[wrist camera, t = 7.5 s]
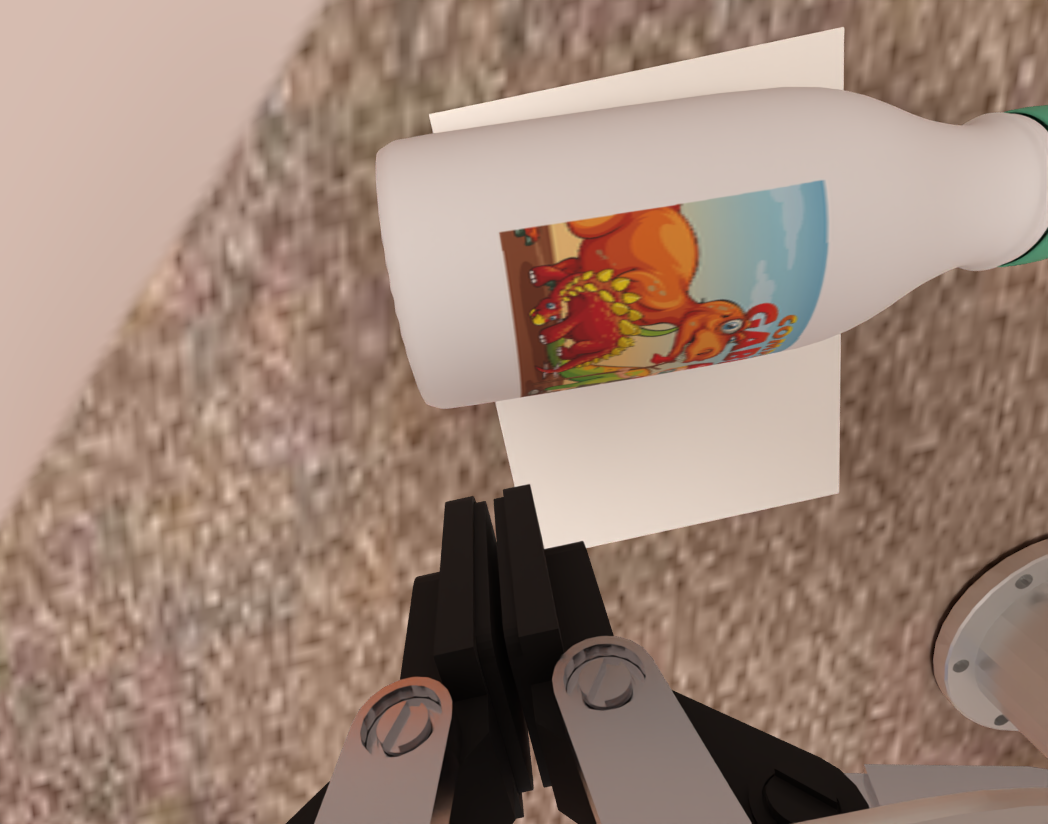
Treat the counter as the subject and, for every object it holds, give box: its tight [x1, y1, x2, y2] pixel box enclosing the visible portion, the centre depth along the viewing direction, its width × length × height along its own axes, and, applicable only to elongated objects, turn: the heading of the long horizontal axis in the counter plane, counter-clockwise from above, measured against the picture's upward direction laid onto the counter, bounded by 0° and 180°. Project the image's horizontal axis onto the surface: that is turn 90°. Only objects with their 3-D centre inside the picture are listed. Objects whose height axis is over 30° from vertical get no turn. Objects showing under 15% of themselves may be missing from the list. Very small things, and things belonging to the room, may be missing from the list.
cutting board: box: [429, 27, 844, 549], centre depth 23 cm, size 14×18×1 cm
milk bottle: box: [376, 87, 1048, 409], centre depth 18 cm, size 8×8×20 cm
